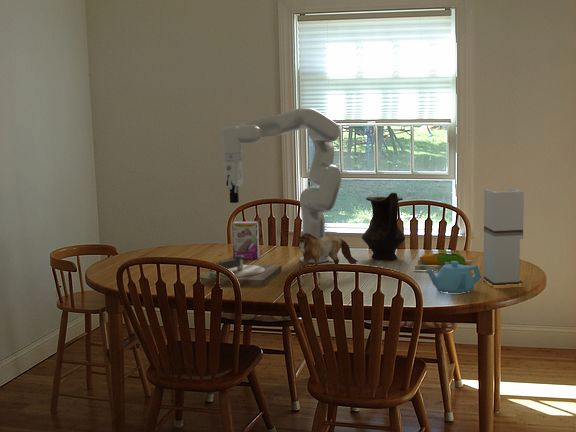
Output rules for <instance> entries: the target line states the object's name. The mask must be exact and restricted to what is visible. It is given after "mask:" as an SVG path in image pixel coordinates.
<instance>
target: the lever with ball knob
mask: <svg viewBox="0 0 576 432" xmlns="http://www.w3.org/2000/svg"><path fill="white" fill-rule="evenodd" d="M243 258H244V255H236V256H235V259H233V258H232V259H227V260H222V261H219V262H218V264H219V265H221V266H223V267H225V268H227V269H230V268H234V267H237V270H243V264H244V263H243V262H244V259H243Z"/></svg>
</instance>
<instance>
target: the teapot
mask: <svg viewBox="0 0 576 432" xmlns="http://www.w3.org/2000/svg"><path fill="white" fill-rule="evenodd" d="M458 263H459V262H458V261H451V264H449V262H445V265H444V266H443V267H442V268H441V269H440V271H439V272H437V275H436V274H435V272H433V271H432V270H431V269H428V270H427V272H426V273H427V274H428V277H429V278H430V280H431V282H432V284H433V285H434V287H435V288H436V290H437V291H438V290H439V291H442V292H448V293H462V292H468V291H471V290H472V291H473V289H474V288H475V284H477V283H478V282H479V281H480V280H481V279H482V278H483V277H482V275H481V272H480V269H479V266H478V265H477V264H475V265H473V264H472V266H469V267H466V266H465V265H461V264H458ZM470 271H471V273H470ZM472 271H473V273H474V275H472ZM439 291H438V292H439ZM472 291H471V292H472Z"/></svg>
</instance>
